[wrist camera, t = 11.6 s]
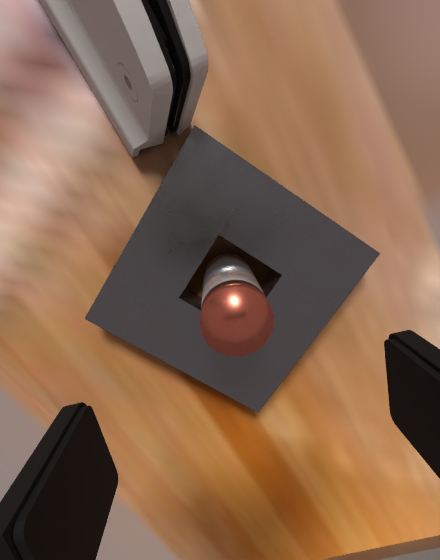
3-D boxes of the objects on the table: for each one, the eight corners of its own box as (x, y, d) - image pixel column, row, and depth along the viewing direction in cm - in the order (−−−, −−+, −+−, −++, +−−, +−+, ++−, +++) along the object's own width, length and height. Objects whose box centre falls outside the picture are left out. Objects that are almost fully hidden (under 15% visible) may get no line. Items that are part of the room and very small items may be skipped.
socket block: (98, 305, 27) (84, 318, 24) (196, 133, 24) (194, 125, 21) (253, 391, 30) (258, 412, 27) (361, 247, 26) (380, 253, 24)
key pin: (198, 258, 26) (192, 296, 17) (246, 248, 26) (267, 279, 17) (209, 303, 27) (209, 363, 18) (255, 293, 27) (279, 348, 18)
